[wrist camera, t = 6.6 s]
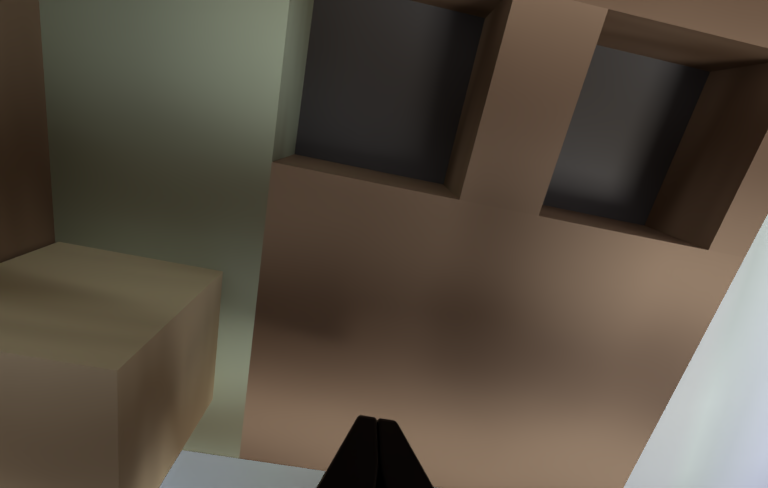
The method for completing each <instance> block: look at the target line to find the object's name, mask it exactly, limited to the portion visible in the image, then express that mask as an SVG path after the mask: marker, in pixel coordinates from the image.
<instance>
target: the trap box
mask: <svg viewBox="0 0 768 488" xmlns="http://www.w3.org/2000/svg"><path fill="white" fill-rule="evenodd" d="M767 214H768V0H0V263H2V262H4V261H7V260H10V259H13V258H15V257H18V256H21V255H24V254H26V253H29V252H32V251H35V250H37V249H40V248H43V247H46V246H48V245H51V244H54V243H56V242H64V243H69V244H75V245H80V246H86V247H91V248H97V249H102V250H108V251H113V252H119V253H124V254H130V255H135V256H141V257H146V258H152V259H157V260H163V261H168V262H174V263H179V264H185V265H190V266H196V267H201V268H207V269H212V270H218V271H223V277H222V290H221V302H220V315H219V328H218V340H217V353H216V365H215V378H214V390H213V400H212V401H211V403H210V405H209V406H208V408H207V409H206V411H205V413H204V414H203V416H202V418H201V419H200V421H199V423H198V424H197V426H196V428H195V429H194V431H193V432H192V434H191V436H190V437H189V439H188V441H187V442H186V444H185V446H184V447H183V449H182V450H185V451H192V452H199V453H206V454H212V455H219V456H226V457H233V458H240V459H247V460H254V461H260V462H267V463H274V464H281V465H288V466H295V467H302V468H308V469H315V470H322V471H326V470H327V469H328V467H329V465H330V463H331V462H332V460H333V458H334V456H335V455H336V453H337V451H338V449H339V448H340V446H341V444H342V442H343V441H344V439H345V437H346V436H347V434H348V432H349V430H350V429H351V427H352V425H353V423H354V422H355V420H356V418H357V417H358V416H359V415H364V416H370V417H375V418H376V419H377V420H378V419H379V418H383V419H390V420H395V421H396V422H397V423H398V425H399V426H400V428H401V430H402V432H403V434H404V435H405V437H406V439H407V441H408V442H409V444H410V446H411V448H412V449H413V451H414V453H415V455H416V457H417V458H418V460H419V462H420V464H421V465H422V467H423V469H424V471H425V473H426V474H427V476H428V478H429V480H430V481H431V483H432V485H433V487H439V488H623V487H624V485H625V483H626V482H627V480H628V478H629V476H630V474H631V472H632V470H633V468H634V466H635V465H636V463H637V461H638V459H639V457H640V455H641V453H642V451H643V449H644V447H645V446H646V444H647V442H648V440H649V438H650V436H651V434H652V432H653V430H654V428H655V427H656V425H657V423H658V421H659V419H660V417H661V415H662V413H663V411H664V409H665V408H666V406H667V404H668V402H669V400H670V398H671V396H672V394H673V392H674V391H675V389H676V387H677V385H678V383H679V381H680V379H681V377H682V375H683V373H684V372H685V370H686V368H687V366H688V364H689V362H690V360H691V358H692V356H693V354H694V353H695V351H696V349H697V347H698V345H699V343H700V341H701V339H702V337H703V336H704V334H705V332H706V330H707V328H708V326H709V324H710V322H711V320H712V318H713V317H714V315H715V313H716V311H717V309H718V307H719V305H720V303H721V301H722V299H723V298H724V296H725V294H726V292H727V290H728V288H729V286H730V284H731V282H732V280H733V279H734V277H735V275H736V273H737V271H738V269H739V267H740V265H741V263H742V262H743V260H744V258H745V256H746V254H747V252H748V250H749V248H750V246H751V244H752V243H753V241H754V239H755V237H756V235H757V233H758V231H759V229H760V227H761V225H762V224H763V222H764V220H765V218H766V216H767Z"/></svg>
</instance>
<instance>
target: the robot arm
mask: <svg viewBox="0 0 768 488" xmlns="http://www.w3.org/2000/svg"><path fill="white" fill-rule="evenodd" d="M317 488H434V487H433V485H432V483H431V481H430V480H429V478H428V476H427V474H426V473H425V471H424V469H423V467H422V465H421V464H420V462H419V460H418V458H417V457H416V455H415V453H414V451H413V449H412V448H411V446H410V444H409V442H408V441H407V439H406V437H405V435H404V434H403V432H402V430H401V428H400V426H399V425H398V423H397V422H396V421H395V420H390V419H383V418H379V419H378V420H377V419H376V418H375V417H370V416H364V415H359V416H358V417H357V418H356V420H355V422H354V423H353V425H352V427H351V429H350V430H349V432H348V434H347V436H346V437H345V439H344V441H343V442H342V444H341V446H340V448H339V449H338V451H337V453H336V455H335V456H334V458H333V460H332V462H331V463H330V465H329V467H328V469H327V470H326V472H325V474H324V475H323V477H322V479H321V481H320V482H319V484H318V486H317Z"/></svg>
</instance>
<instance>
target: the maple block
mask: <svg viewBox="0 0 768 488" xmlns="http://www.w3.org/2000/svg"><path fill="white" fill-rule="evenodd" d="M222 277H223V271H218V270H212V269H207V268H201V267H196V266H190V265H185V264H179V263H174V262H168V261H163V260H157V259H152V258H146V257H141V256H135V255H130V254H124V253H119V252H113V251H108V250H102V249H97V248H91V247H86V246H80V245H75V244H69V243H64V242H56V243H54V244H51V245H48V246H46V247H43V248H40V249H37V250H35V251H32V252H29V253H26V254H24V255H21V256H18V257H15V258H13V259H10V260H7V261H4V262H2V263H0V488H159V487H160V485H161V483H162V482H163V480H164V478H165V477H166V475H167V474H168V472H169V470H170V469H171V467H172V465H173V464H174V462H175V460H176V459H177V457H178V455H179V454H180V452H181V451H182V449H183V447H184V446H185V444H186V442H187V441H188V439H189V437H190V436H191V434H192V432H193V431H194V429H195V428H196V426H197V424H198V423H199V421H200V419H201V418H202V416H203V414H204V413H205V411H206V409H207V408H208V406H209V405H210V403H211V401H212V400H213V390H214V378H215V365H216V353H217V340H218V328H219V315H220V302H221V290H222Z"/></svg>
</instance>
